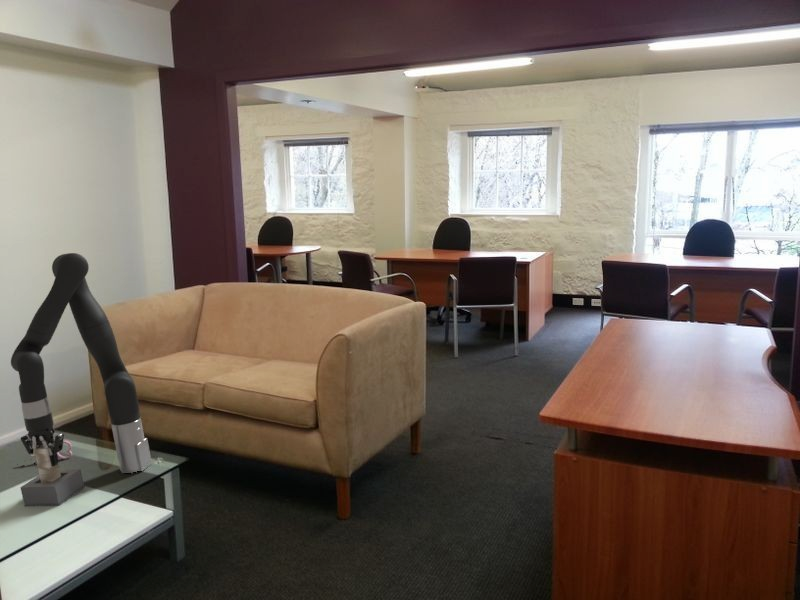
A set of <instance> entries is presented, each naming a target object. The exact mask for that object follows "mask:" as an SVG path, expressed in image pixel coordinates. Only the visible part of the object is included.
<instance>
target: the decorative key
mask: <svg viewBox="0 0 800 600" xmlns="http://www.w3.org/2000/svg"><path fill="white" fill-rule="evenodd" d="M63 444H67V445H68V447H69V449H67V450H66V451H65V453H69V455H68V456H64V455H61V453H60V451H59V452H57V455H58V459H61V460H67V459H66V458H69V459H70V458H71V457H72V456H73V452H72V448H73V446H72V443H71V442H70V441H69V440H63ZM30 455H31V454H30ZM31 456H34V455H31ZM34 457H35V456H34Z"/></svg>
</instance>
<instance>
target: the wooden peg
mask: <svg viewBox="0 0 800 600" xmlns="http://www.w3.org/2000/svg"><path fill="white" fill-rule="evenodd" d="M50 444H51V443H49V444H48V445H50ZM51 449H52V447H51ZM52 450H53V449H52ZM34 452H35V456H36V461H37V463H36V465H37V466H36V467H37V470H38V474H39V475H40V480H41V483H54V482H55V481H57V480H58V479H60V478H61V473H60V470H61V469H60V465H59V463H58V464H57V465H55V466H51V461H50V457H49V456H50V455H49V453H48V449H45V447H44V445H42V446H40V447H38V448H37V449H34ZM39 475H38V476H39Z"/></svg>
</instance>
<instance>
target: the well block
mask: <svg viewBox="0 0 800 600" xmlns="http://www.w3.org/2000/svg"><path fill="white" fill-rule="evenodd" d="M60 473H61V478H60V479H58V480H57V481H55V482H54V483H41V480H40V475H38V476H36V477H34V478H33V479H31V480H30V481H28V482H27V483H24V485H22V486H21V487H20V492H21V496H22V497H21V498H22V501H23V504H24V505H23V506H24V507H58V506H61V505H62V504H63V503H65V502H66V501H67V500H69V499H70V498H72V497H73V496H74V495H76V494H77V493H78V492H80V491H81V490H82V489H84V488H85V484H84V478H83V473H82V470H81V468H70V469H69V468H67V469H62V468H61V469H60Z"/></svg>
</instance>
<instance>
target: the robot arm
mask: <svg viewBox="0 0 800 600" xmlns="http://www.w3.org/2000/svg"><path fill="white" fill-rule="evenodd" d="M51 271H52V274H53V276H54V280H53V283H52V285H51V289H50V290H49V292H48V294H47V295H46V297H45V299H44V300H43V302H42V303H41V305H40V306H39V308H38V309H37V311H36V312H35V314H34V315H33V317H32V319H31V321H30V324H29V325H28V328H27V329H26V332H25V334H24V337H23V338H22V339H21V340H20V342H19V343H18V344H17V346H16V348H15V350H14V351H13V353H12V355H11V357H10V365H11V367H12V369H13V370H14V371H16V372H18V377H19V381H20V384H19V386H18V392H19V398H20V402H21V412H22V417H23V420H24V425H25V430H26V431H27V432H28V433H27V434H25V435H23V436H21V437H20V441H21V442H22V444H23V446H24V448H25V450H26V452H27V454H28V455H31V454H33V455H34V456H35V452H34V449H37V448H38V447H40V446H42V445H44V447H45V449H48V453H49V455H50V456H49V457H50V461H51V466H55V465H57V464H59V463H60V462H59V458H58V455H57V452H59V453H60V452H61V451H62V450H63V446H64V443H63V441H64V438H65V437H64V436H65V433H64V432H59V433H58V432H56V431H55V429H54V419H53V418H54V417H53V413H52V408H51V404H50V400H49V399H48V398H49V397H48V394H47V389H46V384H45V367H44V362H43V359H42V356H41V355H40V354H41V352H42V350H43V348H44V347H45V346H48V345H49V344H50V342H51V340H52V338H53V336H54V334H55V332H56V330H57V327H58V325H59V323H60V321H61V319H62V316H63V315H64V313H65V310H66V308H67V306H68V304H69V308H70V311H71V313H72V316H73V319H74V321H75V325H76V327H77V329H78V332H79V334H80V337H81V339H82V341H83V343H84V345H85V347H86V349H87V350H88V352H89V353H90V356H92V358H93V359H94V361H95V363H96V364H97V367H98V369H99V372H100V375H101V379H102V382H103V383H102V384H103V389H104V393H105V394H104V396H105V400H106V401H105V402H106V404H107V409H108V410H107V411H108V414H109V420H110V425H111V429H112V436H113V440H114V446H115V449H116V457H117V460H118V466H119V472H120V471H121V472H122V473H121V472H120V473H121V474H123V473H131V474H134V473H133V472H136V473H138V472H137V471H142V472H144V471H145V470H146V469H147V468H149V467H150V466H151V465H152V464H153V463H152V462H153V461H152V458H151V457H152V456H151V452H150V445H149V440H148V437H145V434H144V429H143V424H142V419H141V418H142V417H141V412H140V405H139V398H138V394H137V389H136V385H135V381H134V378H132V376H131V375H130V373H129V371H128V370H127V367H126V366H125V363H124V361H122V358H121V356H120V351H119V349H118V344H117V339H116V336H115V334H114V330H113V328H112V326H111V324H110V321H109V319H108V317H107V314H106V313H105V311H104V309H103V308H102V306H101V305H100V304H99V303H98V301H97V300H96V298H95V297H94V295H93V294H92V292H91V290H90V287H89V284H88V281H87V279H86V277H87V274H88V272H89V262H88V260H87V259H86V257H84V256H83V255H82V254H80V253H75V252H70V253H68V252H67V253H63V254H60V255H58V256H57V257H55V259H54V260H53V262H52V265H51ZM48 444H50V445H48ZM51 447H52V449H53V450H52V449H51ZM35 457H36V456H35ZM36 462H37V461H36ZM144 469H145V470H144ZM143 470H144V471H143Z"/></svg>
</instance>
